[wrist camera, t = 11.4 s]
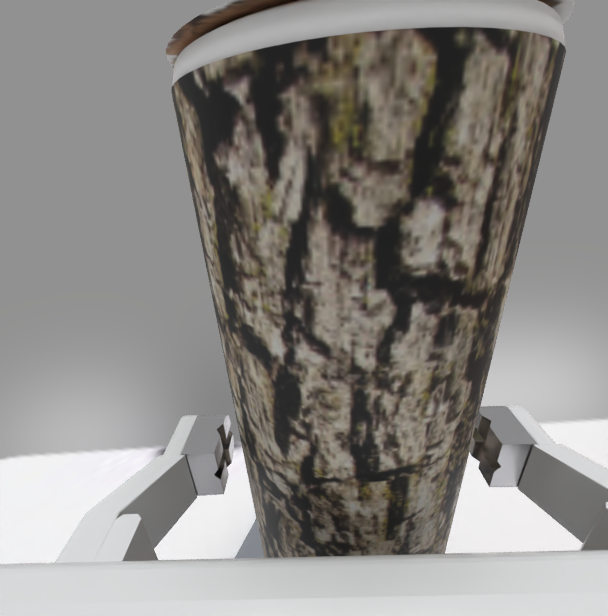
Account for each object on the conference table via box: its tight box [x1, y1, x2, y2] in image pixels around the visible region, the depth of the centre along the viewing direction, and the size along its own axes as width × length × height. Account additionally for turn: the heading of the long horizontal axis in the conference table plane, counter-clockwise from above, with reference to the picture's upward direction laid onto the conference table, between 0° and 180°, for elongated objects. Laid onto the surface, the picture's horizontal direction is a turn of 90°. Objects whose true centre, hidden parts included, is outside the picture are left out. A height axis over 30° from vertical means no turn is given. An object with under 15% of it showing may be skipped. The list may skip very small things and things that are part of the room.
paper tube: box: [166, 0, 574, 558], centre depth 12 cm, size 7×7×25 cm
